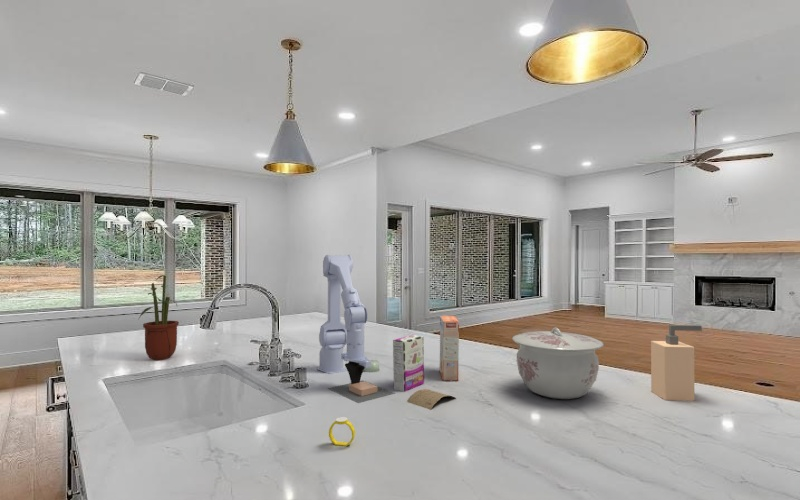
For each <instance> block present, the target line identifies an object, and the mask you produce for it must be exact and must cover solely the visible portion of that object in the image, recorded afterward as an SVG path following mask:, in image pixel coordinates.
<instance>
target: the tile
mask: <svg viewBox="0 0 800 500" xmlns="http://www.w3.org/2000/svg"><path fill="white" fill-rule="evenodd" d="M363 381H364V382H359V383H355V384H351V385H349V391H351V392H354V393H356V394H358V395H360V396H364V395H368V394H372V393H376V392H377V386H378V385H376V386H375V384H373V383H371V382H368V381H366V380H363ZM365 381H366V382H365ZM370 383H371V384H370Z"/></svg>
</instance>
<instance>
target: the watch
mask: <svg viewBox="0 0 800 500" xmlns="http://www.w3.org/2000/svg"><path fill="white" fill-rule="evenodd" d="M335 425H346V426H347V427H349V429H350V431H351V438H350V440H349V441H348V442H345V441H338V440H337V439H336V438H334V435H333V427H334V426H335ZM355 436H356V429H355V427H354V426H353V424H352V422H351V421H349V419H348V418H347V417H346V416H341V417H337V418H336V419H335V421H333V423H331V425H330V426H329V429H328V437H329V440H330V442H331V443H332V444H333V445H334V446H340V447H341V446H344V447H348V446H349V445H350V444H352V442H353V441H354V439H355Z"/></svg>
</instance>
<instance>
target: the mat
mask: <svg viewBox="0 0 800 500" xmlns="http://www.w3.org/2000/svg"><path fill="white" fill-rule="evenodd" d="M364 381H365V382H367V381H366V380H362V379H361V380H360V382H364ZM369 383H370V384H372V383H371V382H369ZM349 385H351V382H349V383H344V384H342V385H341V384H340V385H335V386H332V387H326V388H327V390H329V391H332V392H334V393H336V394H339V396H340V395H341V396H342V397H344V398H347V399H349V400H351V401H353V402H355V403H357V404H360V403H364V402H369V401H372V400H376V399H379V398H385V397H387V396H392V395H395V394H396V393H395V392H393V391H392V390H388V389H386V388H383V387H381V386H378V385H375V384H374V385H375V386H377V392H376V393H372V394H368V395H364V396H360V395H358V394H356V393H354V392H351V391H349Z"/></svg>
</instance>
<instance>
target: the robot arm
mask: <svg viewBox="0 0 800 500" xmlns="http://www.w3.org/2000/svg"><path fill="white" fill-rule="evenodd" d="M353 268H354V260H353V257H352V255H351V254H348V255H347V254H344V255H340V254H339V255H337V254H335V255H333V254H332V255H331V254H329V255H328V254H326V255H324V257H323V261H322V274H323V277H325V278H327V320H326V321H325V322H324V323H323V324H321V325H320V327H319V330H320V331H319V335H318V341H319V344H320V346H321V348H320V350H319V357H318V359H319V361H318V362H319V366H318V367H317V370H319V371H320V372H323V373H325V374H328V375H333V374H337V373H343V372H347V373H348V375H349V379H350V383H351V384H355V383H359V382H360V381H361V380H362V379H361V378H362V375H363V373H364V371H363V370H364V369H365V368H367V367H371V361H370V360H371V359H368V358H367V357H366V356H365V324H366V323H367V321H368V310H367V307H366V305H365V304H364V303H362V302H361V299H360V294H359V293H358V289H356V288H355V287H354V286H353V280H352V271H353ZM341 289H342V291H341ZM341 302H342V305H343V307H344V313H343V317H344V318H343V320H344V322H343V321H341V319H342V318H341V315H342V313H341ZM345 346H346V352H344V348H345ZM344 362H346V363H345V364H344ZM344 366H345V367H344Z"/></svg>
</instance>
